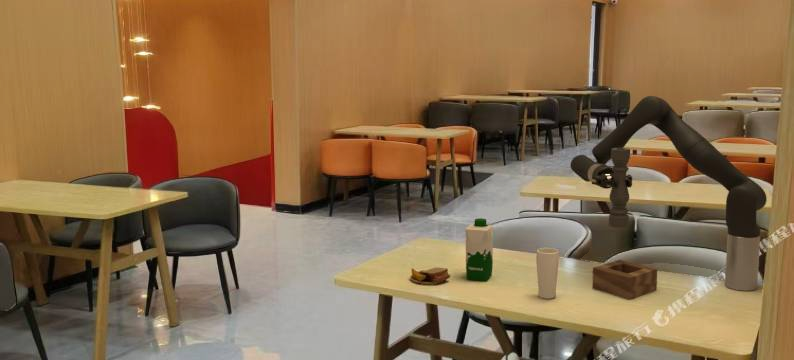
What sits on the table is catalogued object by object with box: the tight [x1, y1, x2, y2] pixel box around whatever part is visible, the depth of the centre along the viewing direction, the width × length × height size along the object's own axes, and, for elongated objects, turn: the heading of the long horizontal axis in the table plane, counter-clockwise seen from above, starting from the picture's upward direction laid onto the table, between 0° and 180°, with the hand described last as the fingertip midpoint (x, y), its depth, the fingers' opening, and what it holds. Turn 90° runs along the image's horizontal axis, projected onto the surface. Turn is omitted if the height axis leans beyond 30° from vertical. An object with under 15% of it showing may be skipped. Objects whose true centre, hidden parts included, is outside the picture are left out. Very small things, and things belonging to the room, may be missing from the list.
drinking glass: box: [535, 247, 560, 300], centre depth 216 cm, size 7×7×15 cm
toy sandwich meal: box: [410, 267, 451, 285], centre depth 237 cm, size 12×14×5 cm
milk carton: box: [464, 217, 494, 283], centre depth 237 cm, size 9×9×20 cm
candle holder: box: [608, 147, 631, 229], centre depth 223 cm, size 6×6×25 cm
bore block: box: [592, 259, 658, 300], centre depth 222 cm, size 14×14×7 cm
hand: (623, 184), depth 220 cm, fingers closed on candle holder, 4 cm apart
